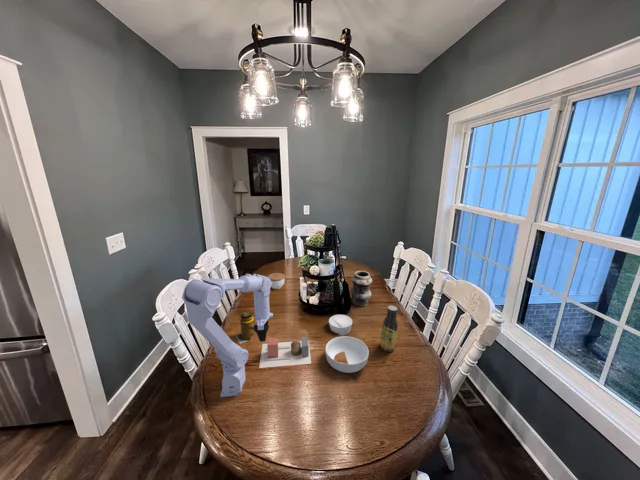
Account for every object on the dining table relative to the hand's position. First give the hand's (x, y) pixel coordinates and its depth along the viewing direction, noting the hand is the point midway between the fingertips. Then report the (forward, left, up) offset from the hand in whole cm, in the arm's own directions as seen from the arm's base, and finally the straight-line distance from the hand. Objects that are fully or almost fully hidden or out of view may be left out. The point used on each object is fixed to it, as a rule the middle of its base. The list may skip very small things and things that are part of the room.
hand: (263, 334), depth 104 cm
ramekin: (+14, -35, -11) cm, 39 cm away
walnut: (-1, -13, -9) cm, 16 cm away
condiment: (+14, +9, -11) cm, 20 cm away
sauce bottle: (-1, -53, -11) cm, 54 cm away
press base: (-1, -9, -10) cm, 13 cm away
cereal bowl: (-8, -33, -11) cm, 35 cm away
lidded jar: (+64, -3, -11) cm, 65 cm away
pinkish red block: (-1, -4, -9) cm, 9 cm away
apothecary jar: (+39, -52, -11) cm, 66 cm away
